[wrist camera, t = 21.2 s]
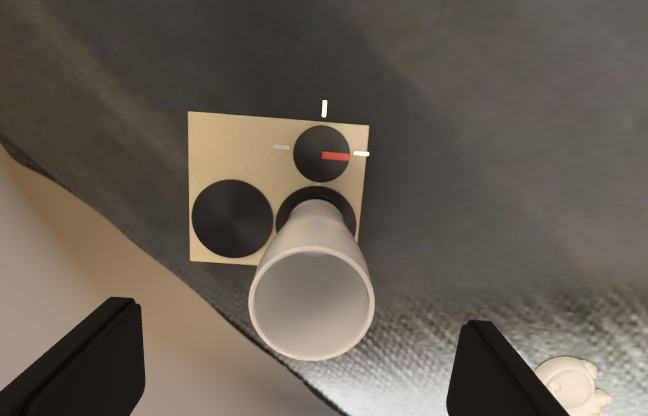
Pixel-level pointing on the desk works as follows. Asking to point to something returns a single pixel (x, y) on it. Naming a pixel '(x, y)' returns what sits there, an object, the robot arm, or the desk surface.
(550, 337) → the desk surface
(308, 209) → the drinking glass
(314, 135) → the hob knob
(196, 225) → the burner
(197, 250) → the hot plate
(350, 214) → the burner
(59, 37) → the desk surface
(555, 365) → the astronaut figurine
